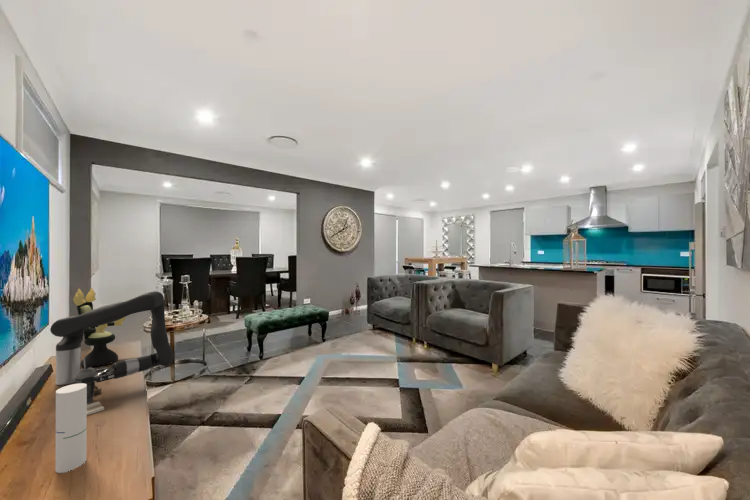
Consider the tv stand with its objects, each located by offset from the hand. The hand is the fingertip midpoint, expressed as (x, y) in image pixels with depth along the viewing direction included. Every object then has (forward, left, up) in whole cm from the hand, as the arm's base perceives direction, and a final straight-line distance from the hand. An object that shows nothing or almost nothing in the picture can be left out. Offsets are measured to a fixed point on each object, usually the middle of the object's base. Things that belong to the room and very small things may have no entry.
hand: (79, 379), depth 138 cm
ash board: (+10, -1, -11) cm, 15 cm away
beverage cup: (0, +2, -11) cm, 11 cm away
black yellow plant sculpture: (-56, +17, -11) cm, 60 cm away
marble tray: (-10, +4, -11) cm, 16 cm away
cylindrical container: (+49, -11, -11) cm, 51 cm away
